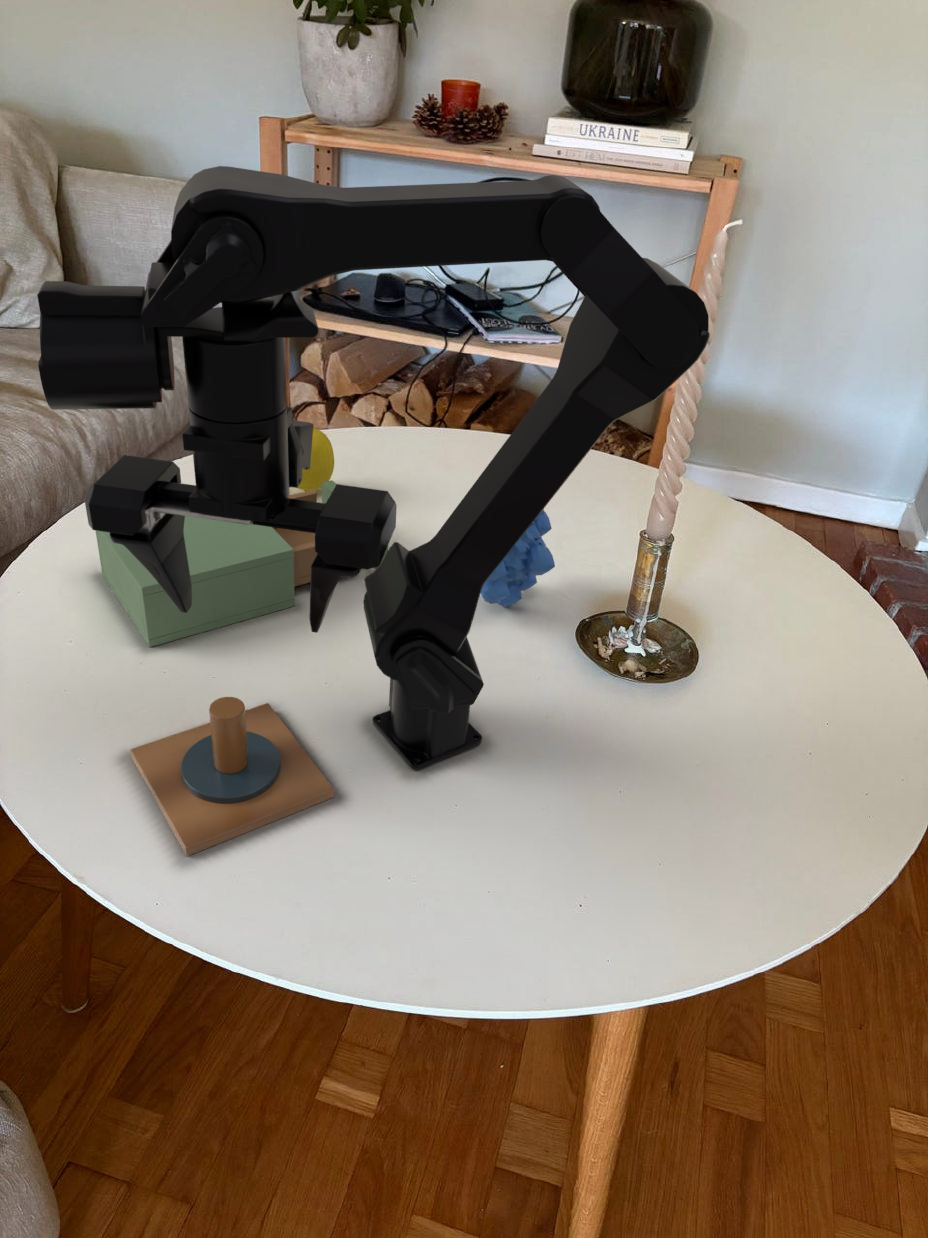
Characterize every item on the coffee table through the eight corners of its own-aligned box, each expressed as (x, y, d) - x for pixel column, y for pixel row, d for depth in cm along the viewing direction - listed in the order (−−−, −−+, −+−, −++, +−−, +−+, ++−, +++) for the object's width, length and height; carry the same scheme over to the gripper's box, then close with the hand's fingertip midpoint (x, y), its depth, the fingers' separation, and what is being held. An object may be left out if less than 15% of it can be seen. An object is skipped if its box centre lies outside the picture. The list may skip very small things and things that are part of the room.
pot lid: (297, 781, 69) (295, 720, 66) (204, 817, 65) (197, 755, 62) (256, 724, 73) (252, 665, 70) (166, 756, 70) (159, 694, 67)
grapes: (515, 649, 86) (532, 533, 79) (452, 622, 88) (463, 507, 81) (573, 593, 94) (593, 483, 87) (514, 570, 97) (528, 461, 90)
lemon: (279, 484, 108) (277, 417, 103) (327, 479, 109) (327, 413, 105) (289, 507, 103) (288, 438, 99) (339, 502, 105) (340, 434, 101)
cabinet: (239, 543, 96) (235, 489, 93) (295, 606, 88) (293, 549, 85) (102, 576, 90) (93, 519, 86) (149, 647, 81) (141, 587, 78)
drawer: (342, 514, 101) (342, 477, 99) (397, 565, 94) (399, 527, 91) (219, 543, 94) (216, 505, 92) (268, 601, 87) (267, 561, 85)
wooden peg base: (334, 797, 69) (334, 789, 69) (186, 857, 63) (185, 848, 63) (268, 710, 76) (268, 702, 76) (131, 757, 71) (129, 749, 70)
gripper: (417, 376, 63) (407, 577, 72) (143, 341, 64) (167, 542, 73) (380, 446, 54) (374, 666, 63) (62, 403, 55) (100, 624, 64)
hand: (251, 619), depth 66 cm, fingers open, 9 cm apart
